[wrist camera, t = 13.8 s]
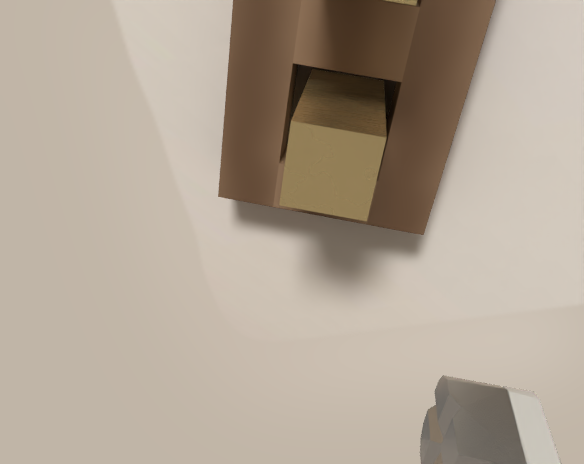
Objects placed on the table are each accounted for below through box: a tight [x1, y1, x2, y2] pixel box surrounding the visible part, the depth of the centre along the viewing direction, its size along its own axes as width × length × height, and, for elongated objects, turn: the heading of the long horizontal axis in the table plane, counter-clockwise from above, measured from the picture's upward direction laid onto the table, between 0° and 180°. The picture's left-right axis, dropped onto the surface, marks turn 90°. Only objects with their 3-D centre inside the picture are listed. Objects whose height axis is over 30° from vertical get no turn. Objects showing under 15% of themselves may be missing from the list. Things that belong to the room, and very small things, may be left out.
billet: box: [279, 69, 387, 221], centre depth 27 cm, size 4×4×9 cm
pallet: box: [218, 0, 496, 235], centre depth 27 cm, size 12×20×3 cm, turn 172°
